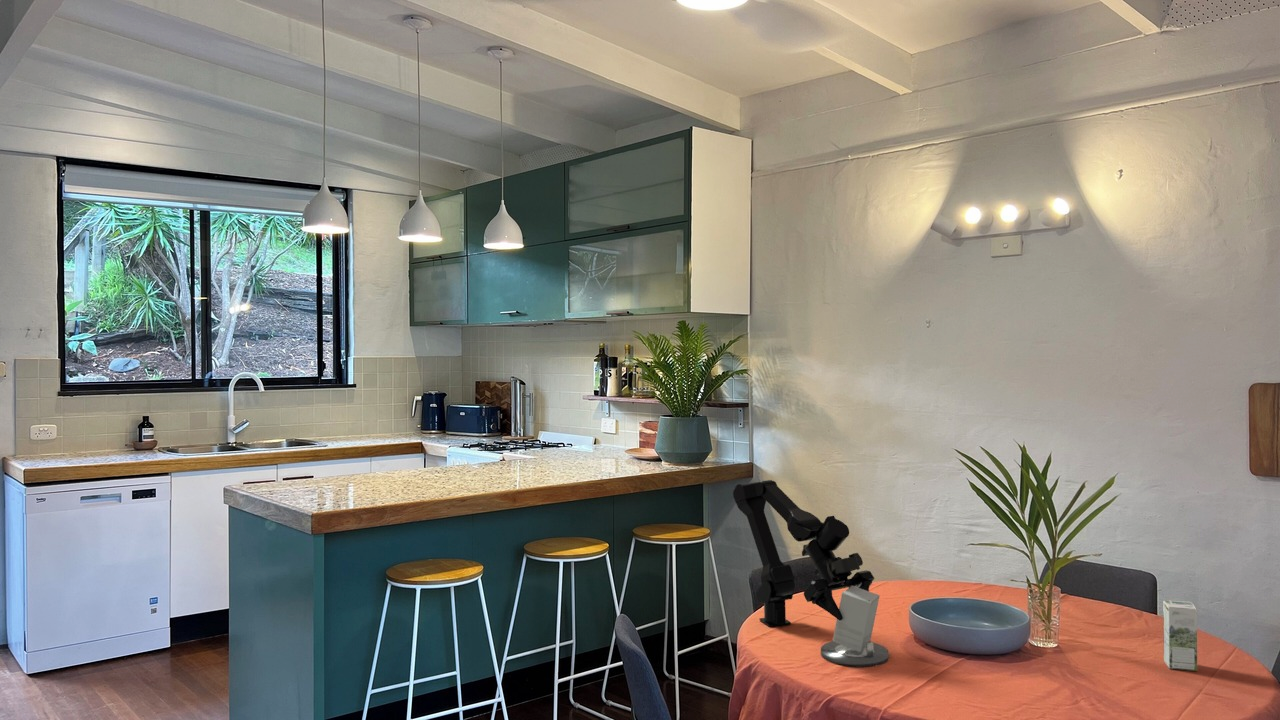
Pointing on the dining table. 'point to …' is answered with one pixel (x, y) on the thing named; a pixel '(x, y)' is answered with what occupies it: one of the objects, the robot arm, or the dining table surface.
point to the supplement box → (856, 618)
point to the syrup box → (1180, 635)
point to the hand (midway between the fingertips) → (856, 616)
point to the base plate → (855, 655)
